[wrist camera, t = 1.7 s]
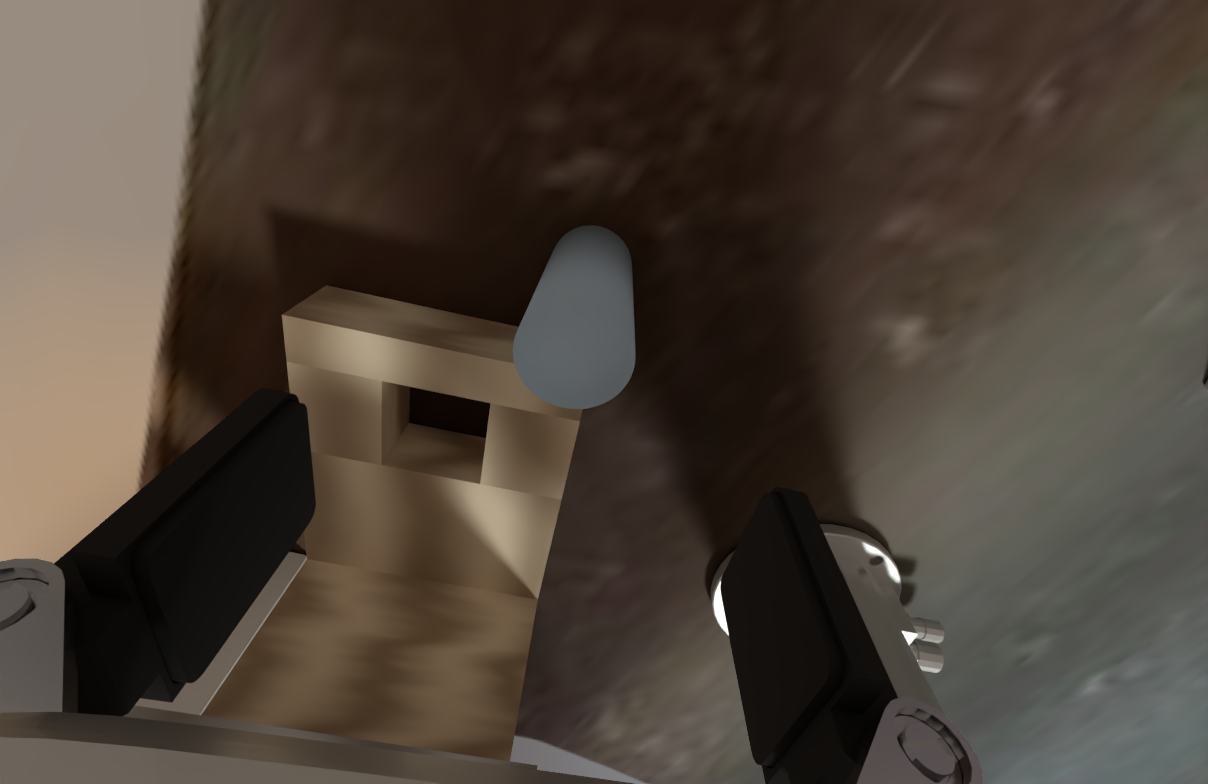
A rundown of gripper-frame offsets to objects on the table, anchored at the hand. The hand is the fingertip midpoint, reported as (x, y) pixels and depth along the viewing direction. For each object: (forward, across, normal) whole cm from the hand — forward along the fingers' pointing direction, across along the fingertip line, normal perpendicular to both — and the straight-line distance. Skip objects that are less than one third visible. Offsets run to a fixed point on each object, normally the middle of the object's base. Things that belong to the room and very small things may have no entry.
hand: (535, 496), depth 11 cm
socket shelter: (+17, +6, +13) cm, 22 cm away
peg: (+17, 0, 0) cm, 17 cm away
